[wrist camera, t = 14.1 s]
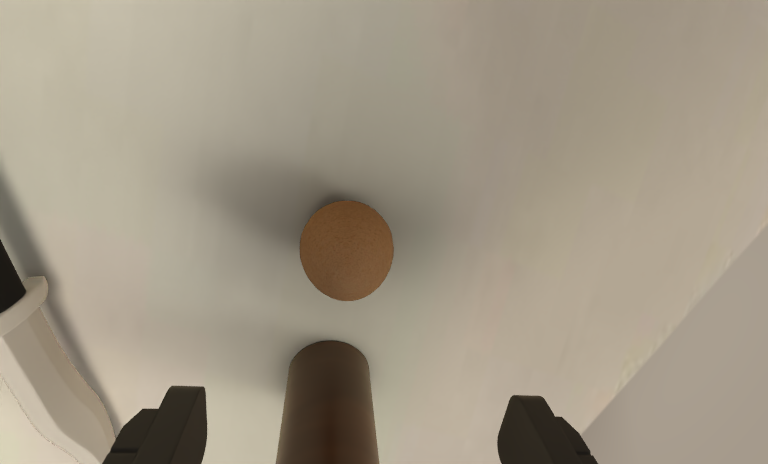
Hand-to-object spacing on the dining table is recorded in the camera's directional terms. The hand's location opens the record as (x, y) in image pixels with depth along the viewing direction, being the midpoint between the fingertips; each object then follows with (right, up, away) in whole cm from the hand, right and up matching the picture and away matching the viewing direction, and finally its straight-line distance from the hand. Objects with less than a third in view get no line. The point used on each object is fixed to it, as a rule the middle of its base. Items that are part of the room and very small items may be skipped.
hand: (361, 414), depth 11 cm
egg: (-2, +5, +12) cm, 13 cm away
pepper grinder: (-3, -4, +15) cm, 16 cm away
